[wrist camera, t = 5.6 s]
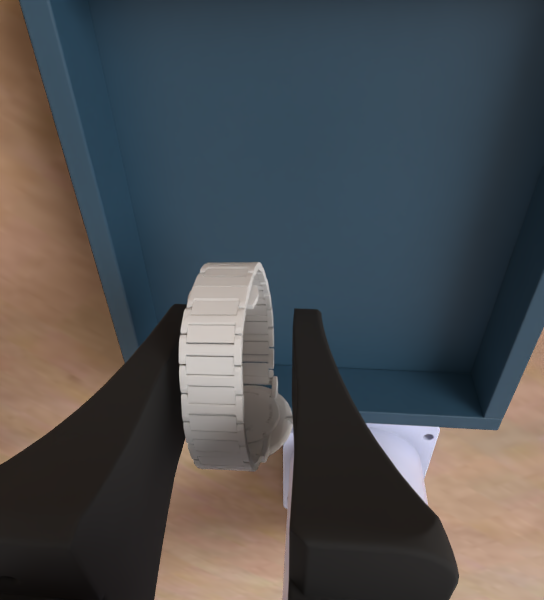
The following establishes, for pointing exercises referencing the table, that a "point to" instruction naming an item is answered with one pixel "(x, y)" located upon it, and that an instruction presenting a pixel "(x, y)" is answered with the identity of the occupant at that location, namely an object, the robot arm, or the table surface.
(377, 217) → the tray
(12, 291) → the table surface
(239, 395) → the wristwatch
